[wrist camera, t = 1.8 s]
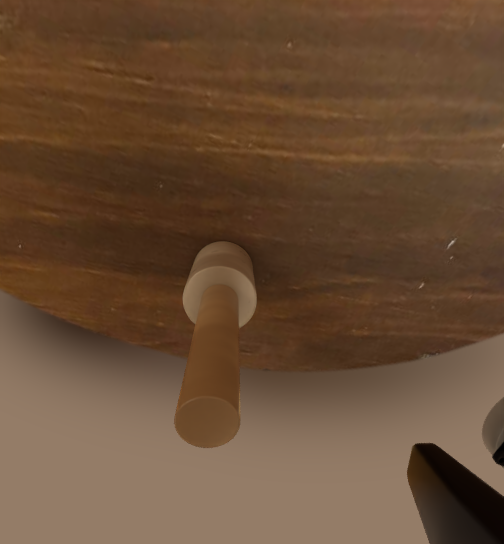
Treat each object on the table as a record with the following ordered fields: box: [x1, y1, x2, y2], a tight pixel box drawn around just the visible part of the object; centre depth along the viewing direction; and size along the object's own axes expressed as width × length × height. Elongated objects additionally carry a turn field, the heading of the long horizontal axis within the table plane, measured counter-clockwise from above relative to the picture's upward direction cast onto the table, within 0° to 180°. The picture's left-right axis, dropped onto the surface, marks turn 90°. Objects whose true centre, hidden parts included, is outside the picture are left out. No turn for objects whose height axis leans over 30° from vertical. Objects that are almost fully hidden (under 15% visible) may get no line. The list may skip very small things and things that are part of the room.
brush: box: [174, 241, 257, 448], centre depth 14 cm, size 3×3×11 cm
